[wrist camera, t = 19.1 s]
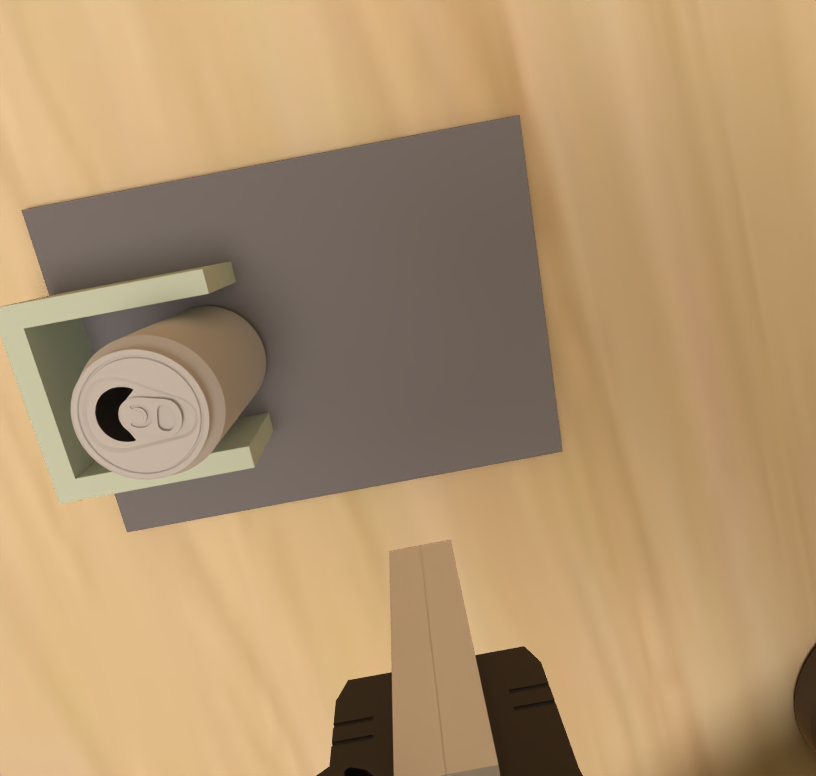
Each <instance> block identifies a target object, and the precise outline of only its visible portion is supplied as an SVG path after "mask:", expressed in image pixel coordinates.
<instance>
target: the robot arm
mask: <svg viewBox="0 0 816 776" xmlns="http://www.w3.org/2000/svg"><path fill="white" fill-rule="evenodd" d="M389 560H390V610H391V661H392V672H391V673H386V674H380V675H375V676H369V677H364V678H358V679H353V680H348V681H347V683H346V685H345V687H344V688H343V690H342V692H341V694H340V695H339V697H338V699H337V700H336V706H335V716H334V728H333V737H332V747H331V757H330V767H328V768H327V769H325V770H324V771H322V772H321V773H320V774H318V775H317V776H583V775H582V773H581V771H580V769H579V767H578V765H577V762H576V759H575V756H574V753H573V751H572V748H571V745H570V742H569V739H568V737H567V734H566V731H565V728H564V725H563V723H562V720H561V717H560V714H559V712H558V709H557V706H556V704H555V701H554V698H553V695H552V692H551V689H550V687H549V684H548V681H547V678H546V675H545V672H544V670H543V667H542V664H541V662H540V661H539V660H538V659H537V658H536V657H535V656H534V655H533V654H532V653H531V652H530V651H528V650H527V649H526V648H525V647H524V646H523V647H518V648H512V649H507V650H501V651H496V652H490V653H485V654H480V655H475V652H474V648H473V643H472V638H471V634H470V629H469V624H468V619H467V615H466V610H465V605H464V601H463V596H462V591H461V586H460V582H459V577H458V572H457V568H456V563H455V558H454V554H453V549H452V544H451V540H447V541H441V542H436V543H430V544H425V545H420V546H414V547H409V548H403V549H398V550H393V551H389ZM794 707H795V716H796V720H797V724H798V727H799V730H800V732H801V734H802V736H803V737H804V739H805V741H806V742H807V743H808V745H809V746H810V747H811V748H812V750H813V751H814V752H815V753H816V648H815V649H814V650H813V652H812V653H811V655H810V656H809V658H808V659H807V661H806V663H805V665H804V667H803V669H802V671H801V674H800V676H799V679H798V683H797V686H796V692H795V703H794Z"/></svg>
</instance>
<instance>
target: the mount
mask: <svg viewBox="0 0 816 776" xmlns="http://www.w3.org/2000/svg"><path fill="white" fill-rule="evenodd" d="M22 213H23V216H24V219H25V222H26V225H27V228H28V231H29V234H30V237H31V240H32V243H33V247H34V250H35V253H36V256H37V259H38V262H39V265H40V268H41V271H42V274H43V277H44V280H45V283H46V286H47V289H48V292H49V295H50V296H46V297H42V298H37V299H33V300H29V301H24V302H20V303H15V304H11V305H6V306H2V307H0V336H1V339H2V342H3V344H4V347H5V350H6V353H7V356H8V359H9V361H10V364H11V367H12V370H13V373H14V376H15V378H16V381H17V384H18V387H19V390H20V393H21V395H22V398H23V401H24V404H25V407H26V410H27V412H28V415H29V418H30V421H31V424H32V426H33V429H34V432H35V435H36V438H37V441H38V443H39V446H40V449H41V452H42V455H43V458H44V460H45V463H46V466H47V469H48V472H49V475H50V477H51V480H52V483H53V486H54V489H55V492H56V494H57V497H58V500H59V503H60V504H62V503H67V502H72V501H78V500H83V499H89V498H94V497H99V496H105V495H110V494H115V497H116V500H117V503H118V506H119V509H120V512H121V515H122V518H123V521H124V524H125V527H126V530H127V532H131V531H137V530H142V529H147V528H153V527H158V526H164V525H169V524H174V523H180V522H185V521H191V520H196V519H201V518H207V517H212V516H218V515H223V514H228V513H234V512H239V511H244V510H250V509H255V508H261V507H266V506H271V505H277V504H282V503H288V502H293V501H298V500H304V499H309V498H315V497H320V496H325V495H331V494H336V493H341V492H347V491H352V490H358V489H363V488H368V487H374V486H379V485H385V484H390V483H395V482H401V481H406V480H411V479H417V478H422V477H428V476H433V475H438V474H444V473H449V472H455V471H460V470H465V469H471V468H476V467H482V466H487V465H492V464H498V463H503V462H508V461H514V460H519V459H525V458H530V457H535V456H541V455H546V454H552V453H557V452H562V445H561V437H560V429H559V421H558V413H557V405H556V398H555V390H554V382H553V374H552V366H551V358H550V351H549V343H548V335H547V327H546V319H545V311H544V304H543V296H542V288H541V280H540V272H539V265H538V257H537V249H536V241H535V233H534V225H533V218H532V210H531V202H530V194H529V186H528V178H527V171H526V163H525V155H524V147H523V139H522V132H521V124H520V116H519V115H518V116H512V117H507V118H502V119H497V120H491V121H486V122H481V123H476V124H470V125H465V126H460V127H455V128H449V129H444V130H439V131H434V132H428V133H423V134H418V135H413V136H407V137H402V138H397V139H392V140H386V141H381V142H376V143H371V144H366V145H360V146H355V147H350V148H345V149H339V150H334V151H329V152H324V153H318V154H313V155H308V156H303V157H297V158H292V159H287V160H282V161H276V162H271V163H266V164H261V165H255V166H250V167H245V168H240V169H234V170H229V171H224V172H219V173H213V174H208V175H203V176H198V177H192V178H187V179H182V180H177V181H171V182H166V183H161V184H156V185H150V186H145V187H140V188H135V189H129V190H124V191H119V192H114V193H109V194H103V195H98V196H93V197H88V198H82V199H77V200H72V201H67V202H61V203H56V204H51V205H46V206H40V207H35V208H30V209H25V210H22ZM198 306H215V307H220V308H224V309H227V310H230V311H232V312H234V313H236V314H237V315H239V316H241V317H242V318H243V319H245V320H246V321H247V322H248V323H249V324H250V325H251V326H252V327H253V328H254V330H255V331H256V332H257V334H258V336H259V337H260V339H261V341H262V344H263V346H264V350H265V354H266V372H265V376H264V380H263V382H262V385H261V387H260V388H259V390H258V392H257V393H256V394H255V396H254V397H253V398H252V400H251V401H250V402H249V404H248V405H247V406H246V408H245V409H244V410H243V411H242V413H241V414H240V415H239V417H238V418H237V419H236V421H235V422H234V423H233V425H232V426H231V427H230V429H229V430H228V431H227V433H226V434H225V435H224V437H223V438H222V439H221V441H220V442H219V443H218V444H217V446H216V447H215V448H214V450H213V451H212V452H211V453H210V455H209V456H208V457H207V458H206V459H204V460H203V461H202V462H201V463H199V464H198V465H196V466H195V467H193V468H191V469H189V470H187V471H185V472H182V473H179V474H175V475H171V476H167V477H164V478H159V479H152V480H140V479H132V478H128V477H124V476H121V475H118V474H116V473H114V472H112V471H110V470H108V469H106V468H105V467H103V466H102V465H100V464H99V463H98V462H97V461H95V460H94V459H93V458H92V457H91V456H90V455H89V454H88V452H87V451H86V450H85V449H84V447H83V446H82V444H81V443H80V441H79V439H78V437H77V435H76V433H75V430H74V427H73V424H72V419H71V399H72V394H73V390H74V388H75V385H76V384H77V382H78V380H79V377H80V375H81V373H82V371H83V369H84V368H85V366H86V364H87V362H88V361H89V360H90V358H91V357H92V356H93V355H94V354H95V353H96V352H97V351H99V350H100V349H101V348H103V347H104V346H106V345H107V344H109V343H111V342H113V341H115V340H118V339H120V338H122V337H124V336H127V335H129V334H131V333H134V332H136V331H138V330H141V329H143V328H145V327H148V326H150V325H152V324H154V323H157V322H159V321H161V320H164V319H166V318H168V317H171V316H173V315H175V314H178V313H180V312H182V311H185V310H187V309H190V308H194V307H198Z"/></svg>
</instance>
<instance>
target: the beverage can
mask: <svg viewBox="0 0 816 776" xmlns="http://www.w3.org/2000/svg"><path fill="white" fill-rule="evenodd" d="M265 372H266V354H265V350H264V346H263V344H262V341H261V339H260V337H259V336H258V334H257V332H256V331H255V330H254V328H253V327H252V326H251V325H250V324H249V323H248V322H247V321H246V320H245V319H243V318H242V317H241V316H239V315H237V314H236V313H234V312H232V311H230V310H227V309H224V308H220V307H215V306H198V307H194V308H190V309H187V310H185V311H182V312H180V313H178V314H175V315H173V316H171V317H168V318H166V319H164V320H161V321H159V322H157V323H154V324H152V325H150V326H148V327H145V328H143V329H141V330H138V331H136V332H134V333H131V334H129V335H127V336H124V337H122V338H120V339H118V340H115V341H113V342H111V343H109V344H107V345H106V346H104V347H103V348H101V349H100V350H99V351H97V352H96V353H95V354H94V355H93V356H92V357H91V358H90V360H89V361H88V362H87V364H86V366H85V368H84V369H83V371H82V373H81V375H80V377H79V380H78V382H77V384H76V385H75V388H74V390H73V394H72V399H71V419H72V424H73V427H74V430H75V433H76V435H77V437H78V439H79V441H80V443H81V444H82V446H83V447H84V449H85V450H86V451H87V452H88V454H89V455H90V456H91V457H92V458H93V459H94V460H95V461H97V462H98V463H99V464H100V465H102V466H103V467H105V468H106V469H108V470H110V471H112V472H114V473H116V474H118V475H121V476H124V477H128V478H132V479H140V480H152V479H159V478H164V477H167V476H171V475H175V474H179V473H182V472H185V471H187V470H189V469H191V468H193V467H195V466H196V465H198V464H199V463H201V462H202V461H203V460H204V459H206V458H207V457H208V456H209V455H210V453H211V452H212V451H213V450H214V448H215V447H216V446H217V444H218V443H219V442H220V441H221V439H222V438H223V437H224V435H225V434H226V433H227V431H228V430H229V429H230V427H231V426H232V425H233V423H234V422H235V421H236V419H237V418H238V417H239V415H240V414H241V413H242V411H243V410H244V409H245V408H246V406H247V405H248V404H249V402H250V401H251V400H252V398H253V397H254V396H255V394H256V393H257V392H258V390H259V388H260V387H261V385H262V382H263V380H264V376H265Z"/></svg>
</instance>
